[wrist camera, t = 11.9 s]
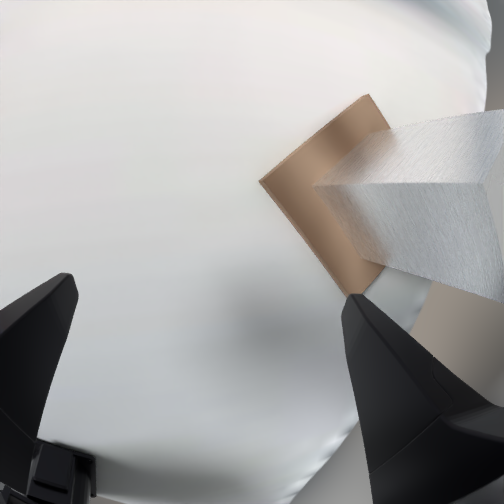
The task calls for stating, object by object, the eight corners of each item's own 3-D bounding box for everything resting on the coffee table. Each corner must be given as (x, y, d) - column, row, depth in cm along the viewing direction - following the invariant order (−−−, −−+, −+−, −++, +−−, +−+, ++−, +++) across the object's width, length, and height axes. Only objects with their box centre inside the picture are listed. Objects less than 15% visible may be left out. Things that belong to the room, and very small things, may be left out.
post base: (347, 299, 22) (386, 318, 18) (258, 181, 18) (289, 176, 14) (425, 207, 23) (465, 210, 19) (362, 96, 20) (402, 80, 16)
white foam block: (360, 258, 21) (509, 305, 10) (311, 186, 19) (482, 183, 7) (408, 202, 22) (545, 216, 10) (369, 133, 20) (518, 107, 8)
